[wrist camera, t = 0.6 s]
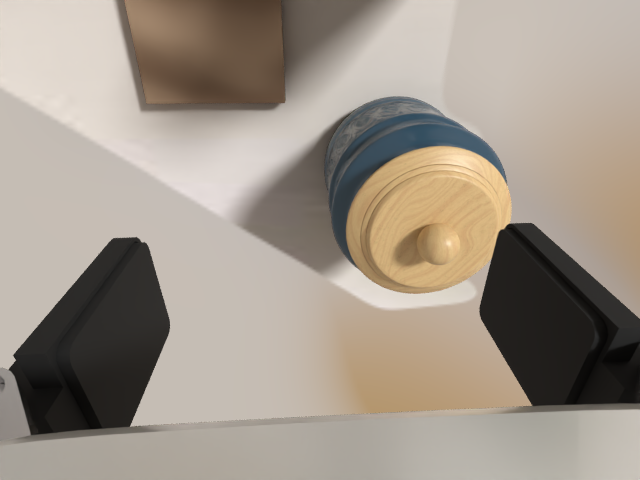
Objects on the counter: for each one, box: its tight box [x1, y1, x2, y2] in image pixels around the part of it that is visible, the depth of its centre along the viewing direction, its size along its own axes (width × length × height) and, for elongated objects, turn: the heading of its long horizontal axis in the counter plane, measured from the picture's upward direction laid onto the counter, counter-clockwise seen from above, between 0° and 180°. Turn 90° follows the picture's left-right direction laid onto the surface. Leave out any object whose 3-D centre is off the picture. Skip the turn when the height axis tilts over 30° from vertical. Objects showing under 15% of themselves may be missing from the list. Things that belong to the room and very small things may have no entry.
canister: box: [324, 96, 511, 294], centre depth 31 cm, size 13×13×18 cm
